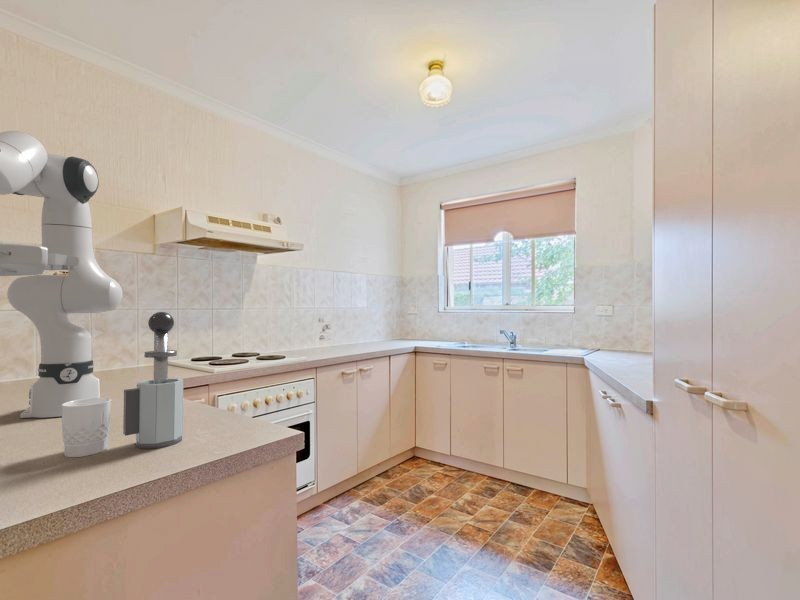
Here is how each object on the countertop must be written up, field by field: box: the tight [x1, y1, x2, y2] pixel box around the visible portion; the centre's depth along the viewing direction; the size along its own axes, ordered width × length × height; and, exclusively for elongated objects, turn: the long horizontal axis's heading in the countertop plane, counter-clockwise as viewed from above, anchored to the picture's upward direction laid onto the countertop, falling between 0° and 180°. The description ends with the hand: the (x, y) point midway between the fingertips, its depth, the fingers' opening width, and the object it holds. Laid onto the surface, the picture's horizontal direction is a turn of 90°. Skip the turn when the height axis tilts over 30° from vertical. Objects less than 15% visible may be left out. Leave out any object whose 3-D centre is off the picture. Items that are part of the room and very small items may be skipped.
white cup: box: [61, 397, 112, 458], centre depth 79 cm, size 8×8×10 cm
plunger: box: [144, 311, 178, 384], centre depth 85 cm, size 6×6×26 cm
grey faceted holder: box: [122, 377, 184, 450], centre depth 84 cm, size 8×11×13 cm
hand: (75, 263), depth 80 cm, fingers open, 8 cm apart
